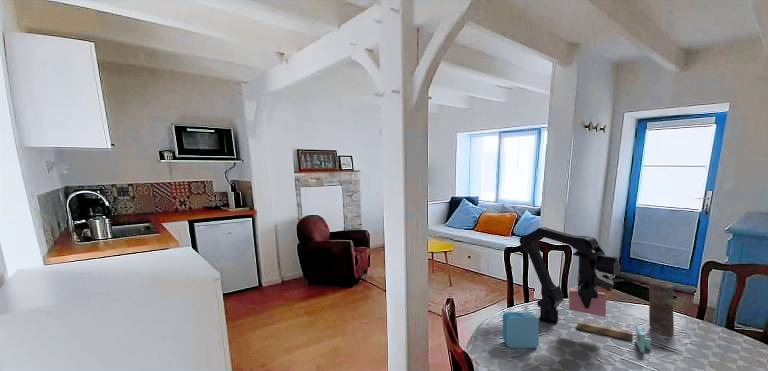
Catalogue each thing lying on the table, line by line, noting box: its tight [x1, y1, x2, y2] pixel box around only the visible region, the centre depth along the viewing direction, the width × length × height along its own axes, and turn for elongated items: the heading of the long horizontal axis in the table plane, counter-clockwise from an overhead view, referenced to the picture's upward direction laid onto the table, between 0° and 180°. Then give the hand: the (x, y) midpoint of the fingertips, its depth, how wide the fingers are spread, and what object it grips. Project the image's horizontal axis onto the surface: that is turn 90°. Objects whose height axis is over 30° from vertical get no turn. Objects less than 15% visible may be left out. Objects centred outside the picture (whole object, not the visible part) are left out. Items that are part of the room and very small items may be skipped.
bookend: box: [635, 323, 652, 355], centre depth 111 cm, size 4×8×7 cm, turn 148°
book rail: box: [577, 320, 634, 341], centre depth 122 cm, size 18×2×2 cm, turn 58°
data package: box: [502, 311, 540, 349], centre depth 115 cm, size 12×4×12 cm, turn 88°
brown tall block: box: [648, 281, 675, 336], centre depth 122 cm, size 8×7×20 cm
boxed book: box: [568, 287, 607, 318], centre depth 120 cm, size 12×4×8 cm, turn 57°
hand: (586, 306), depth 120 cm, fingers closed on boxed book, 4 cm apart
